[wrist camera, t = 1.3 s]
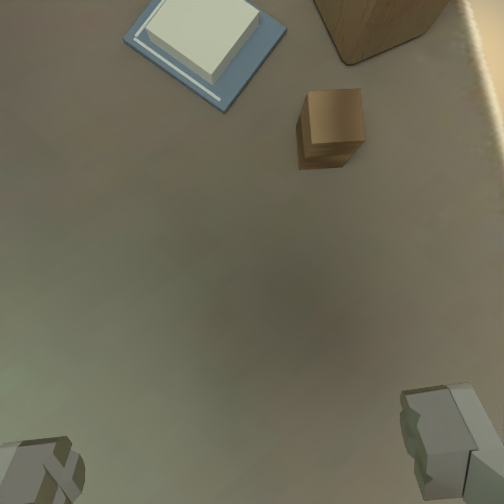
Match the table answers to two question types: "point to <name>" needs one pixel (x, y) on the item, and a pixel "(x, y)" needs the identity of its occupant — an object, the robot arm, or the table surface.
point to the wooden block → (376, 24)
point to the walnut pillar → (329, 128)
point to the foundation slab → (203, 33)
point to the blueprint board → (233, 75)
